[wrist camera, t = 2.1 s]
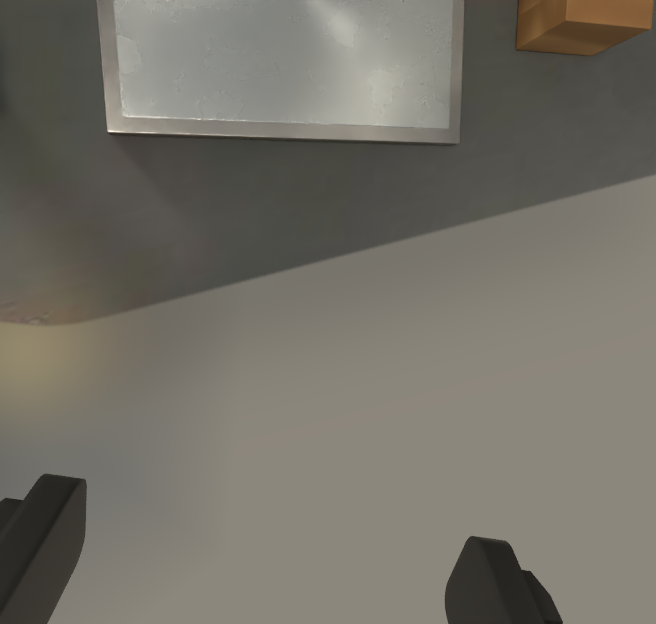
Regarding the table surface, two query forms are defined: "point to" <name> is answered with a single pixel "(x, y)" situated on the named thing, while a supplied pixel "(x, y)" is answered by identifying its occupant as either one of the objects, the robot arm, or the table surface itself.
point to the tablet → (284, 69)
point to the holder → (580, 24)
